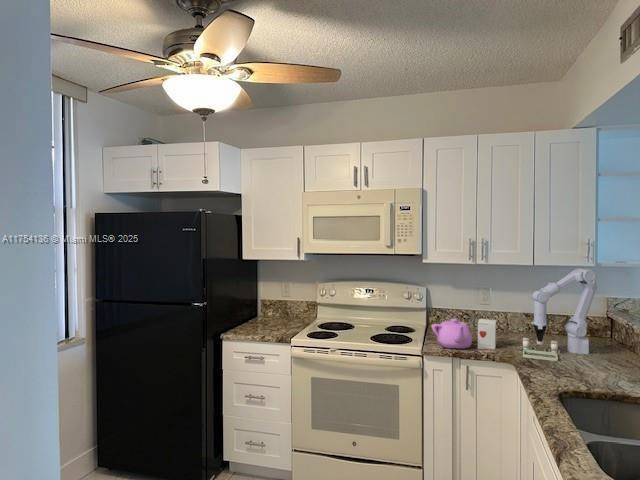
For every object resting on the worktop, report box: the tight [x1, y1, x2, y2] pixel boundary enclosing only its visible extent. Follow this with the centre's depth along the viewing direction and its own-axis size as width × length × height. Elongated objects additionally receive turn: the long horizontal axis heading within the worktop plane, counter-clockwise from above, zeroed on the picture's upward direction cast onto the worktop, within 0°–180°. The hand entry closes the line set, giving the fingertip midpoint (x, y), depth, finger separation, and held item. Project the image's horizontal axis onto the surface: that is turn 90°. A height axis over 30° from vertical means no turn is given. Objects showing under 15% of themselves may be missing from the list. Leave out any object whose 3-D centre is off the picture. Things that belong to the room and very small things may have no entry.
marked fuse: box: [536, 339, 544, 346], centre depth 223 cm, size 3×3×6 cm
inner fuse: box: [550, 339, 559, 353], centre depth 220 cm, size 3×3×6 cm
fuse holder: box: [519, 345, 562, 356], centre depth 223 cm, size 19×6×2 cm, turn 63°
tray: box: [522, 349, 559, 362], centre depth 214 cm, size 15×11×2 cm
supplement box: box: [477, 318, 497, 350], centre depth 232 cm, size 9×9×15 cm
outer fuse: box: [522, 337, 530, 350], centre depth 226 cm, size 3×3×6 cm
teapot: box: [431, 318, 473, 350], centre depth 233 cm, size 23×21×15 cm
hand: (540, 340), depth 223 cm, fingers closed on marked fuse, 3 cm apart
